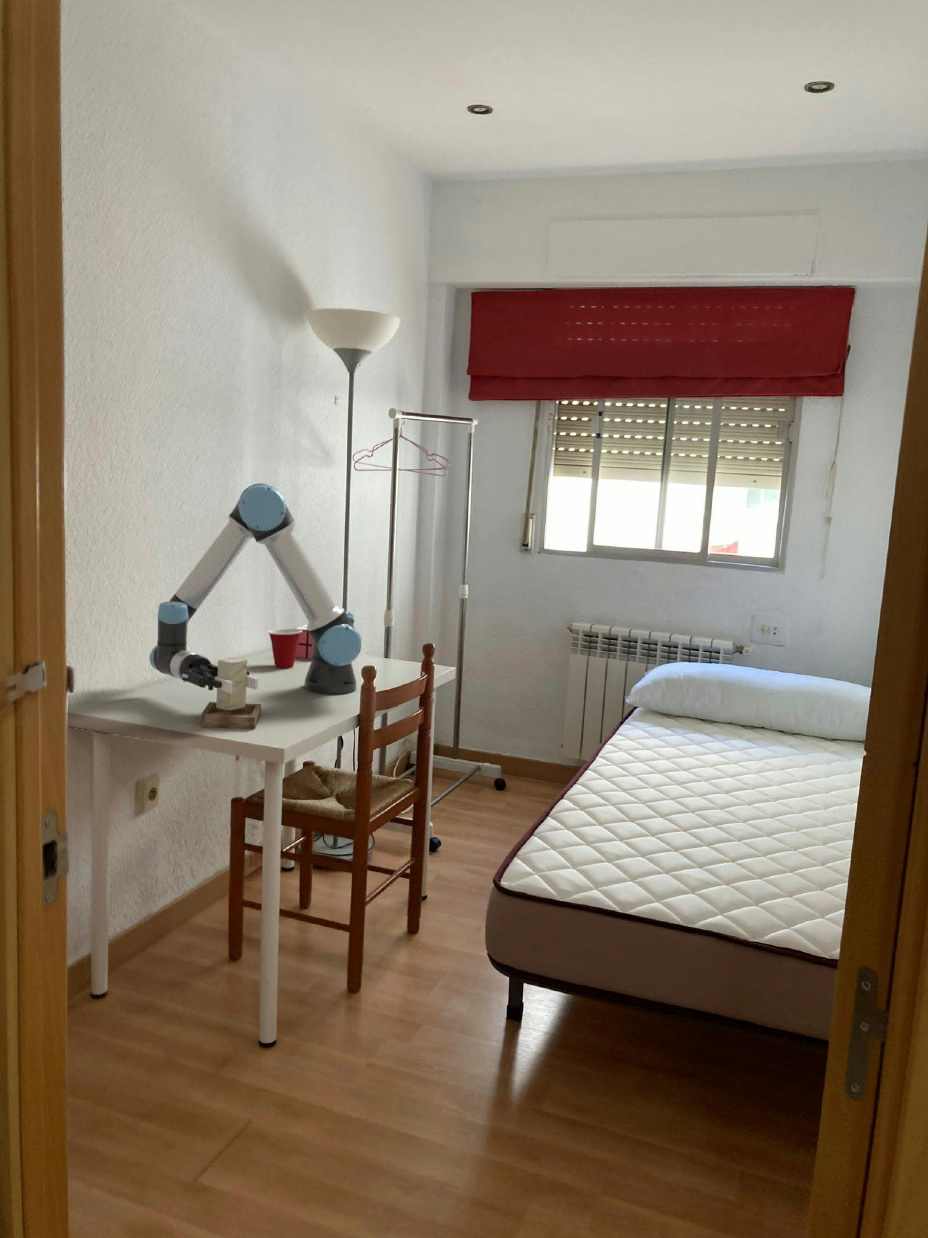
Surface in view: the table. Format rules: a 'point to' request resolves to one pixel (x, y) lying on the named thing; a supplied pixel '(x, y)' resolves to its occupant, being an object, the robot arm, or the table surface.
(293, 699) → the table surface
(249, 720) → the tray
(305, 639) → the puzzle cube
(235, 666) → the skincare box
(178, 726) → the table surface
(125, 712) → the table surface
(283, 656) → the plastic cup
